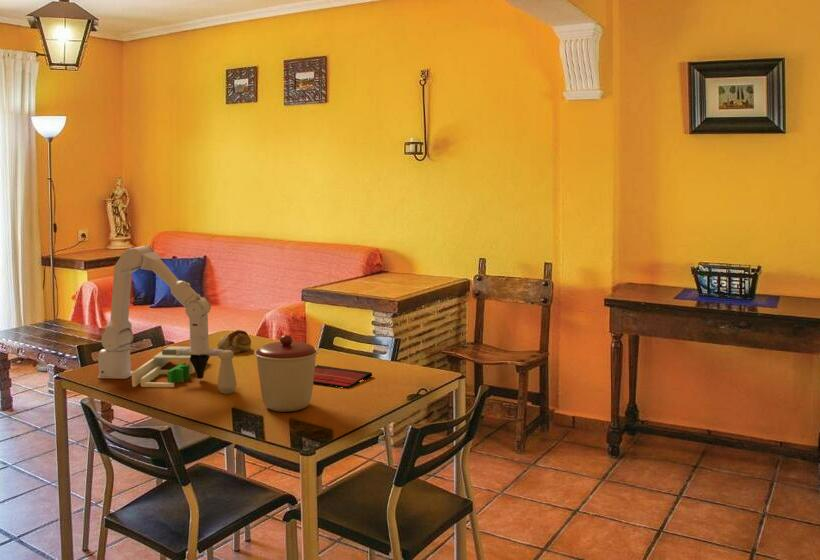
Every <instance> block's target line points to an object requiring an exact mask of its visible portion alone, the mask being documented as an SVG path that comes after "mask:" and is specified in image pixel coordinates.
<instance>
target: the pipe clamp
mask: <svg viewBox="0 0 820 560" xmlns="http://www.w3.org/2000/svg"><path fill="white" fill-rule="evenodd" d="M168 370H169V371H167V374H166V375H167V383H174V382H175V383H176V382H184V383H185V380H190V374H189V370H190V368H189V365H186V362H181V363H179V364H177V365H176V366H174V367H173V368H171V369H168ZM175 383H174V384H175Z"/></svg>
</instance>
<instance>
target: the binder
mask: <svg viewBox="0 0 820 560" xmlns="http://www.w3.org/2000/svg"><path fill="white" fill-rule="evenodd" d="M366 376H372V377H373V372H370V371H365V370H364V371H363V370H362V371H361V370H358V369H357V370H355V369H348V368H342V367H341V368H339V367H334V366H333V367H332V366H326V365H321V364H320V365H319V364H317V365H315V371H314V381H313V383H314V384H313V385H320V384H322V385H321V386H327V385H332V386H331V387H333V386H337V387H343V388H348V389H350V388H349V387H351V388H353V387H355V386H357V385H359V384H361V383H360V382H359V381H360V380H362V379H365V378H367V377H366ZM358 383H359V384H358ZM352 386H353V387H352ZM337 387H336V388H337ZM343 388H342V389H343Z"/></svg>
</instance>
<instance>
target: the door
mask: <svg viewBox="0 0 820 560" xmlns="http://www.w3.org/2000/svg"><path fill="white" fill-rule="evenodd" d="M186 348H190V346H178V345H177V346H176V345H175V346H173V345H172V346H170V345H169V346H167V347H166V348H162V349H161V351H160V352H158V353H157V354H155V355H154V356H153V357H152V358H153V359H170V360H186V361H187V360H188V361H189V360H190V358H191V356H184V355H180V356H176V350H177V349H186Z"/></svg>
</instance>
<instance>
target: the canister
mask: <svg viewBox="0 0 820 560" xmlns="http://www.w3.org/2000/svg"><path fill="white" fill-rule="evenodd" d="M318 354H319V348H317V347H315V346H314V345H312V344H310V343H307V342H303V341H295V340H293V337H292V335H289V334H283V335H281V336H280V338H279V341H275V342H269V343H266V344H262V345H261V346H260V347H258V348H256V349H255V350H254V352H253V355H254V356H255V357H256V361H257V364H256V365H257V370H258V371H257V372H258V376H259V377H258V379H259V385H260V391H261V398H262V402H263V404H264V406H265V408H267V409H269V410H271V411H274V412H282V413H284V412H285V413H289V412H295V411H299V410H303V409H305V408H307V407H308V406H309V404H310V402H311V400H312V396H313V395H312V394H313V390H314V384H313V381H314V371H315V366H316V361H317V360H316V358H317V355H318Z"/></svg>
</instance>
